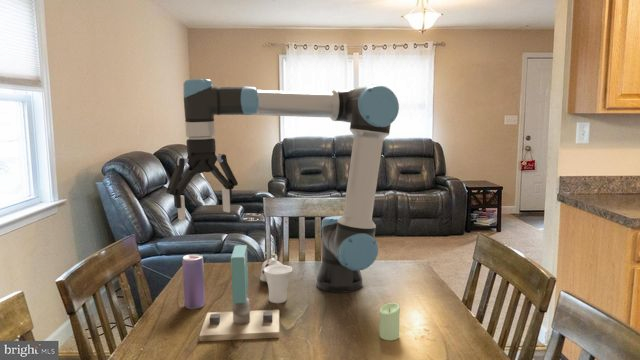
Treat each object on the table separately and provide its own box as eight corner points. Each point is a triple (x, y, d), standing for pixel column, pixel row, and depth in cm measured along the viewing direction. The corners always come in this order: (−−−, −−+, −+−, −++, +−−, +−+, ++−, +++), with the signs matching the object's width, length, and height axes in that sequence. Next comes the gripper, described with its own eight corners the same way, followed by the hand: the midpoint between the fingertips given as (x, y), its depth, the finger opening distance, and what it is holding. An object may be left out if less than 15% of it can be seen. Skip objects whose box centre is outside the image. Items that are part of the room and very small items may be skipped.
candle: (385, 342, 120) (386, 310, 118) (375, 333, 124) (376, 303, 123) (402, 338, 122) (403, 307, 120) (392, 330, 126) (392, 300, 125)
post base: (279, 314, 136) (278, 289, 135) (279, 337, 123) (278, 309, 121) (207, 317, 135) (206, 292, 134) (199, 341, 121) (198, 312, 120)
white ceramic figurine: (268, 248, 169) (272, 255, 155) (288, 258, 171) (293, 267, 156) (255, 272, 169) (257, 282, 154) (275, 282, 170) (279, 293, 155)
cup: (278, 308, 141) (278, 275, 139) (258, 300, 147) (257, 268, 146) (300, 299, 147) (299, 268, 146) (279, 291, 154) (278, 261, 152)
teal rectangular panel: (248, 291, 133) (247, 245, 131) (245, 307, 122) (244, 257, 120) (236, 291, 133) (234, 245, 131) (232, 307, 122) (230, 257, 120)
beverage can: (199, 310, 140) (197, 260, 138) (180, 308, 141) (178, 259, 139) (208, 302, 145) (206, 254, 143) (190, 301, 147) (188, 253, 144)
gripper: (233, 135, 140) (236, 206, 143) (149, 140, 123) (155, 221, 126) (247, 136, 134) (250, 210, 137) (162, 141, 118) (167, 225, 121)
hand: (205, 215), depth 132 cm, fingers open, 13 cm apart
